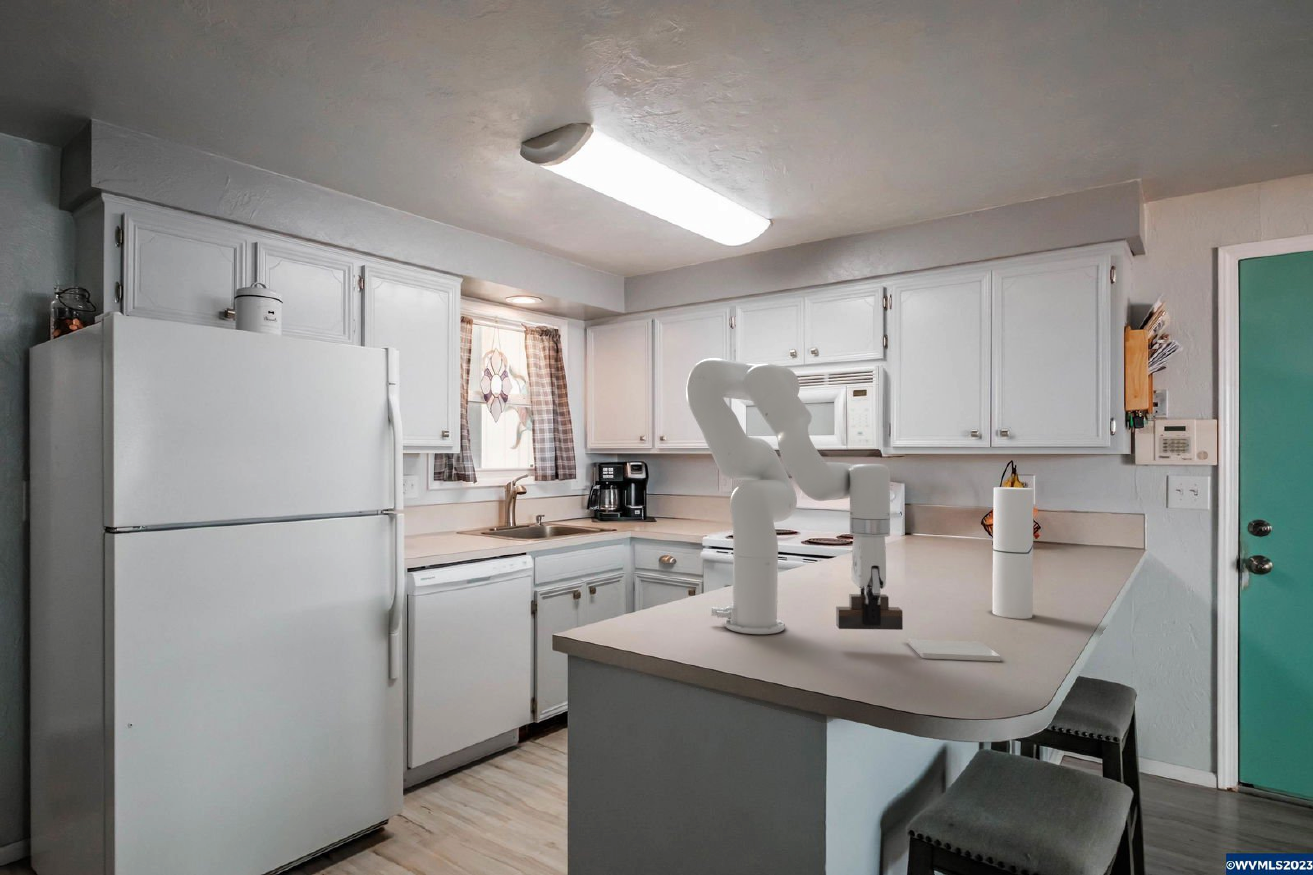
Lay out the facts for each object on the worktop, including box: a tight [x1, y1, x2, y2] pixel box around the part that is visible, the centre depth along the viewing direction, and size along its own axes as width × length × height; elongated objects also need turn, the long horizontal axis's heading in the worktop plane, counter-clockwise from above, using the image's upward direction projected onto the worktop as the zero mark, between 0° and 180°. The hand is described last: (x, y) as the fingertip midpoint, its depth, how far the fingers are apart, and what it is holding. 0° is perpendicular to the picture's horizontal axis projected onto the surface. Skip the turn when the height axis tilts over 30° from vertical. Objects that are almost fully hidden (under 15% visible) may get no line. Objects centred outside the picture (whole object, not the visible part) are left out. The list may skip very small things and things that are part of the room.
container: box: [991, 486, 1035, 620], centre depth 176 cm, size 9×9×30 cm
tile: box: [908, 638, 1002, 662], centre depth 142 cm, size 14×10×1 cm
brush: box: [835, 593, 904, 631], centre depth 143 cm, size 12×3×6 cm, turn 86°
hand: (869, 622), depth 143 cm, fingers closed on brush, 3 cm apart
